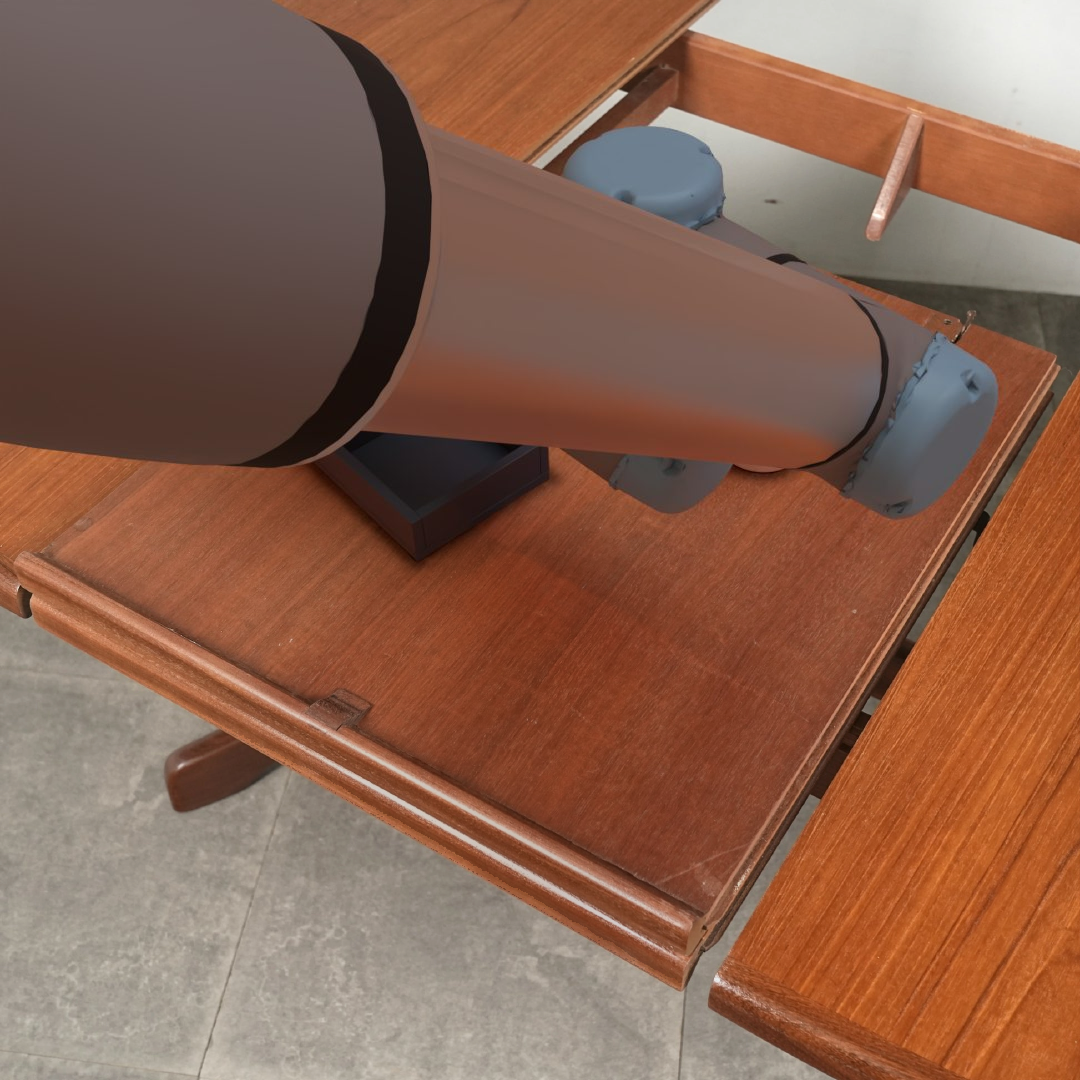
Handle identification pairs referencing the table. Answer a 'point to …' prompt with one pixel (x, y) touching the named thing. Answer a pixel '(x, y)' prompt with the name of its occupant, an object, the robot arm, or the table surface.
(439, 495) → the tray
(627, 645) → the table surface
